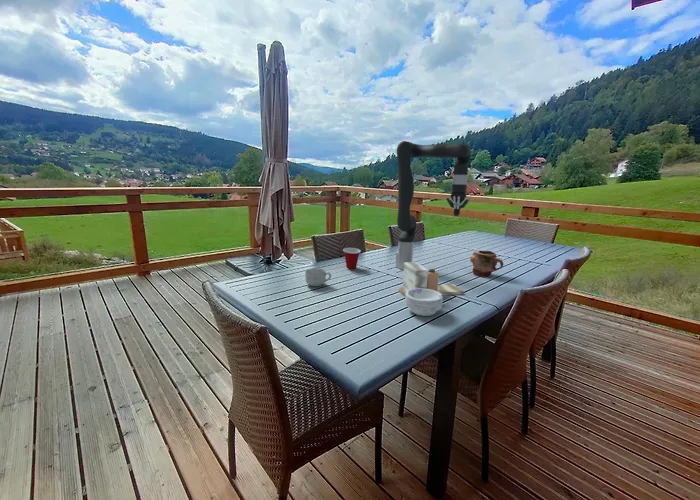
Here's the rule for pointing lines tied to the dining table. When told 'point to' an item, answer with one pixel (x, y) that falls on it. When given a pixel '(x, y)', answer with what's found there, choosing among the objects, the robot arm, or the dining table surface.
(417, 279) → the press housing
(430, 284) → the tan small carton
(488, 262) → the brown ceramic mug
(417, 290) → the white bowl
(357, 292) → the dining table surface
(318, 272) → the teacup
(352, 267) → the plastic cup
